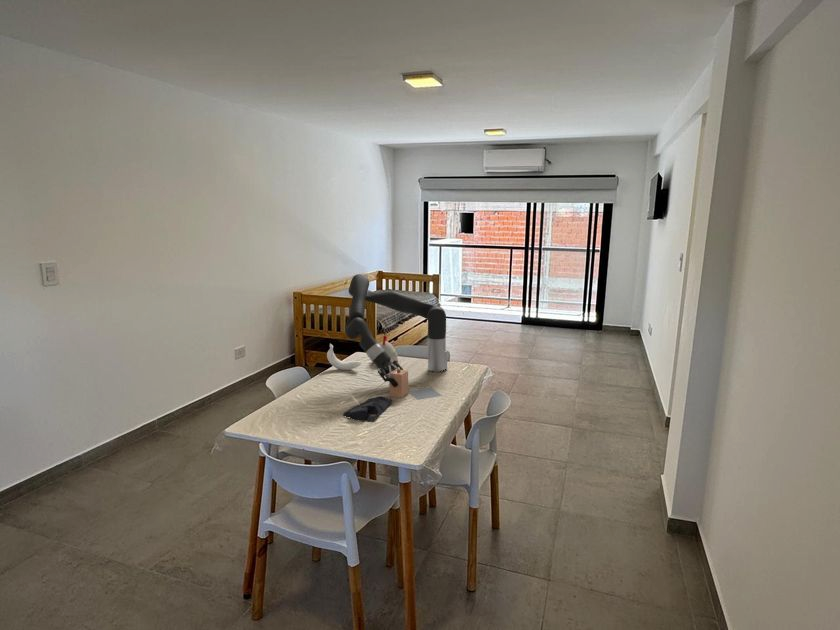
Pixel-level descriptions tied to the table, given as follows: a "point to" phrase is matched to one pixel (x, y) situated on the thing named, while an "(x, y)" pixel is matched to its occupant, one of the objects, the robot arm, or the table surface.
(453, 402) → the table surface
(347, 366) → the banana
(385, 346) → the kitchen timer
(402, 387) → the tan rectangular block
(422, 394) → the mat
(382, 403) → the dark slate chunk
